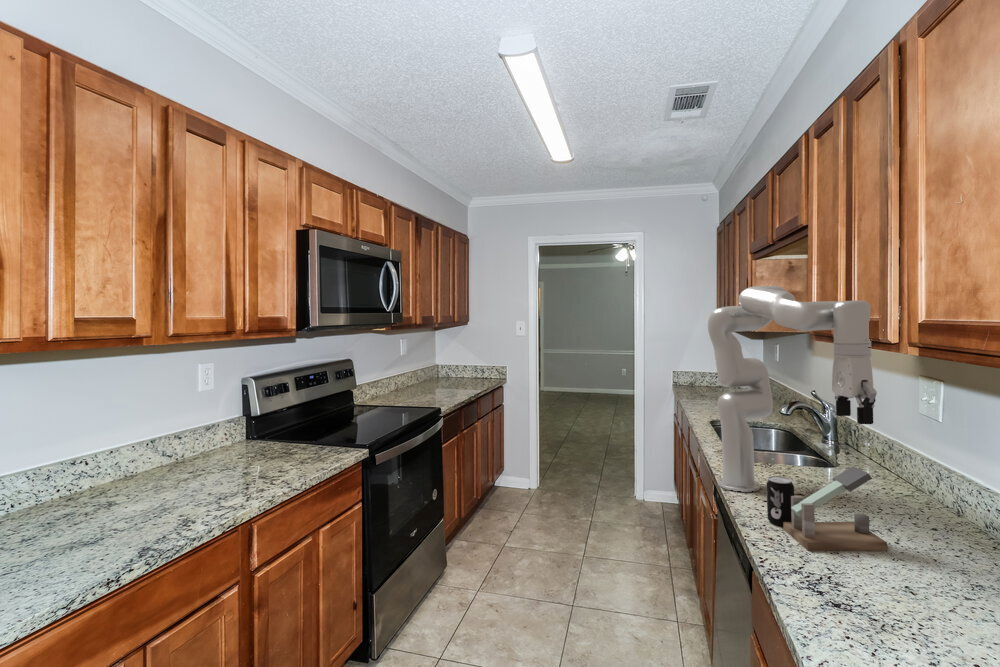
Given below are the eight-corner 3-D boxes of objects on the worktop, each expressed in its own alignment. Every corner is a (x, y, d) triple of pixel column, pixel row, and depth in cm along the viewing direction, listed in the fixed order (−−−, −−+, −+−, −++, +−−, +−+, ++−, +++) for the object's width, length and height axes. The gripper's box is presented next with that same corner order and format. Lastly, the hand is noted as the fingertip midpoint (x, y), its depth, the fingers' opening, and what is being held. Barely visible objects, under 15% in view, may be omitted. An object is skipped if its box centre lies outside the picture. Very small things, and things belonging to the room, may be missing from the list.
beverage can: (799, 528, 131) (797, 483, 130) (772, 527, 132) (770, 482, 132) (789, 518, 137) (788, 475, 137) (764, 517, 138) (763, 475, 138)
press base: (783, 529, 130) (782, 492, 130) (855, 529, 128) (854, 491, 128) (807, 550, 118) (806, 509, 118) (887, 550, 116) (886, 509, 116)
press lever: (791, 510, 127) (787, 505, 127) (856, 471, 125) (852, 465, 125) (803, 519, 121) (799, 514, 121) (872, 478, 119) (868, 473, 119)
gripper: (818, 349, 130) (820, 413, 131) (854, 353, 113) (856, 427, 113) (849, 348, 129) (851, 412, 129) (891, 352, 112) (892, 427, 112)
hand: (853, 419), depth 121 cm, fingers open, 9 cm apart
